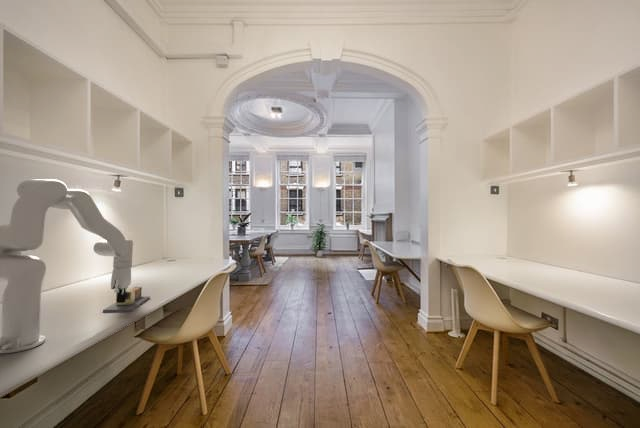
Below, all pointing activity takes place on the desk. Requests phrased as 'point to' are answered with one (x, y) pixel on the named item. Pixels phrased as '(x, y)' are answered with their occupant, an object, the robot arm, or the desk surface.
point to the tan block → (128, 298)
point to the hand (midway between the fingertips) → (120, 302)
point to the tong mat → (126, 306)
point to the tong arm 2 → (138, 292)
